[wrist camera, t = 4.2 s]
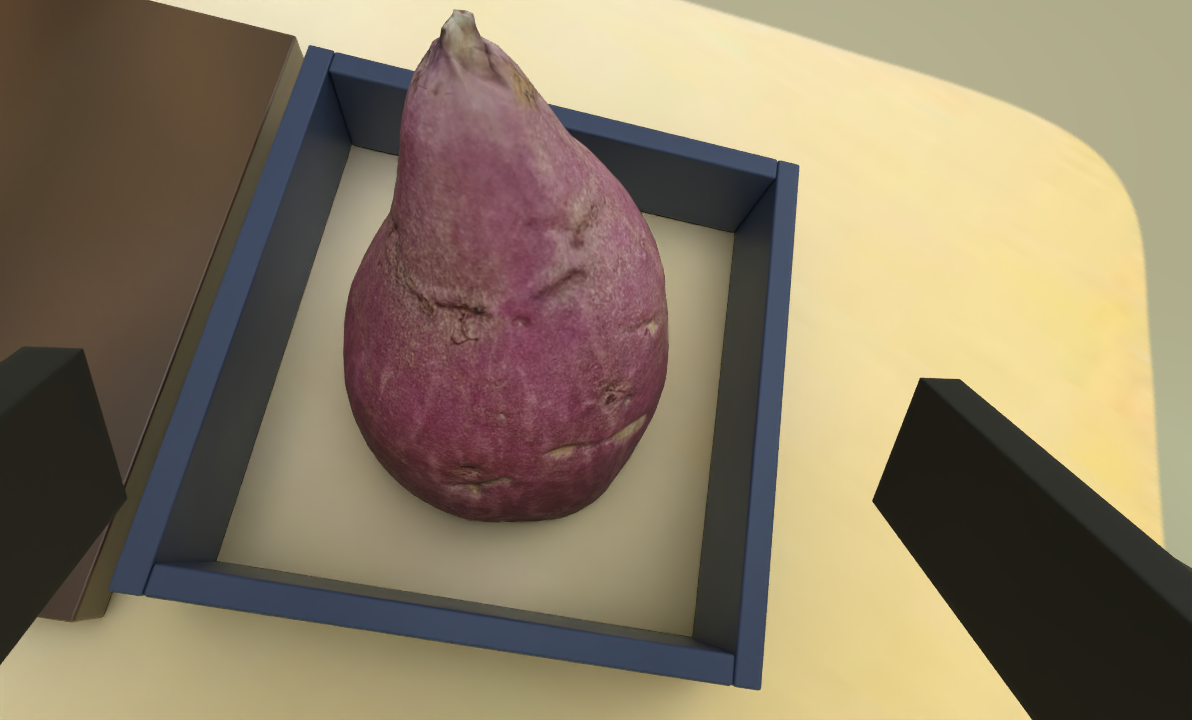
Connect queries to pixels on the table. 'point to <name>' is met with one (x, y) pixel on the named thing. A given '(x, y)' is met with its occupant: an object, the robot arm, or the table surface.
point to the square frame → (264, 321)
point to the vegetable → (502, 301)
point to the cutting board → (127, 207)
